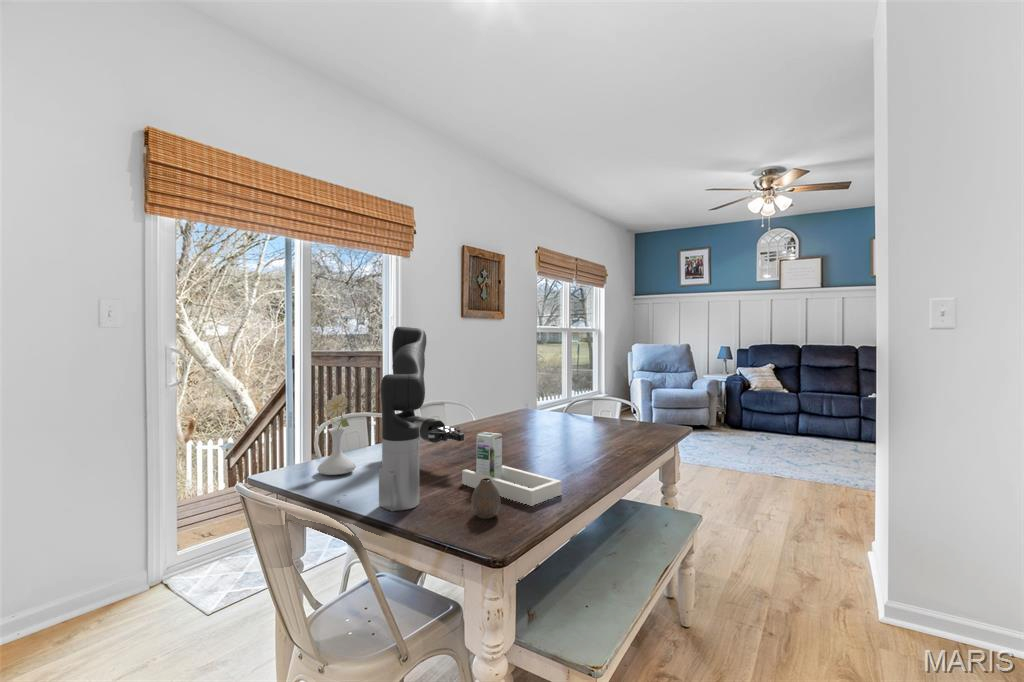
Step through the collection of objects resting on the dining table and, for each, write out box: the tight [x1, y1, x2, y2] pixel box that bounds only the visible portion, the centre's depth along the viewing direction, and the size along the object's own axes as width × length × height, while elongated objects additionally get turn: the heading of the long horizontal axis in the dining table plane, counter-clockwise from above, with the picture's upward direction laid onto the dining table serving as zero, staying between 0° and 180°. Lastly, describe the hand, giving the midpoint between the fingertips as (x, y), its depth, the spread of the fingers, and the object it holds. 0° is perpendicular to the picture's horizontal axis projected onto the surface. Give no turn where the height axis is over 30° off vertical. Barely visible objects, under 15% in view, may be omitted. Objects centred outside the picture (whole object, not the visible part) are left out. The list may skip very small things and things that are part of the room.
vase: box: [471, 478, 501, 520], centre depth 118 cm, size 7×7×9 cm
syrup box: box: [475, 431, 503, 480], centre depth 143 cm, size 6×6×14 cm
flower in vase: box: [317, 393, 357, 476], centre depth 153 cm, size 13×11×25 cm
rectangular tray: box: [461, 464, 563, 507], centre depth 138 cm, size 12×27×4 cm, turn 46°
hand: (462, 437), depth 152 cm, fingers closed
